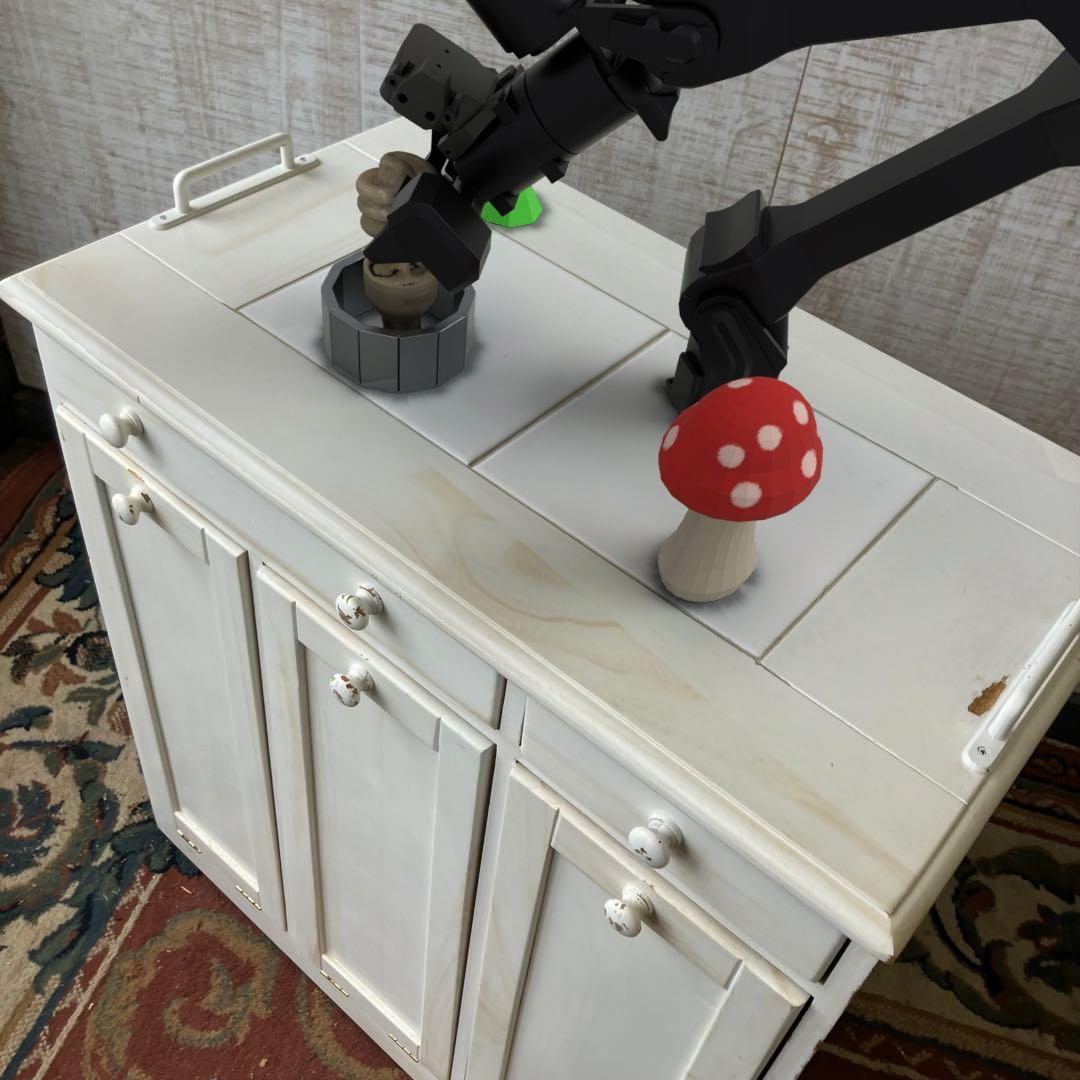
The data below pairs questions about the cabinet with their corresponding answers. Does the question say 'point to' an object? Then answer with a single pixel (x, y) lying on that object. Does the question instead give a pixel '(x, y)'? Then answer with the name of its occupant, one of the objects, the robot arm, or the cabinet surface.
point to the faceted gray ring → (393, 335)
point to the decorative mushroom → (733, 480)
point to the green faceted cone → (515, 211)
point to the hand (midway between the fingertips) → (379, 234)
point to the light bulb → (396, 285)
